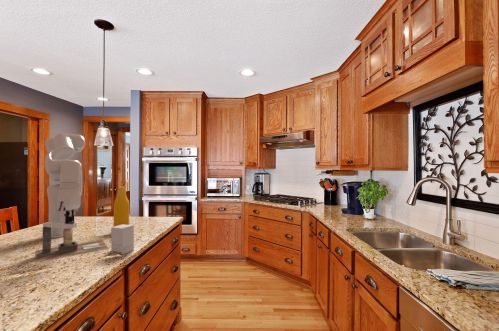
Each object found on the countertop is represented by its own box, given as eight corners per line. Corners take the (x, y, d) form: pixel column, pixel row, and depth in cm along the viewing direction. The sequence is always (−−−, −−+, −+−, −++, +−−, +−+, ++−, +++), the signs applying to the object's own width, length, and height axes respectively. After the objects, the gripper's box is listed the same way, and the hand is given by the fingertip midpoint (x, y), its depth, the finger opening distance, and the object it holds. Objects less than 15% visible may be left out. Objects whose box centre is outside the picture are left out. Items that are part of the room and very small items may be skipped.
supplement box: (134, 250, 124) (134, 225, 124) (122, 255, 117) (122, 228, 117) (123, 248, 126) (123, 223, 127) (110, 253, 119) (110, 227, 120)
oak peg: (63, 250, 120) (63, 227, 120) (72, 248, 122) (72, 226, 122) (63, 252, 117) (63, 229, 117) (72, 250, 119) (72, 227, 120)
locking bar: (40, 227, 113) (40, 221, 113) (46, 226, 116) (46, 220, 116) (72, 228, 112) (72, 222, 112) (77, 226, 115) (77, 220, 115)
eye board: (35, 252, 120) (35, 225, 120) (101, 241, 138) (102, 217, 138) (34, 265, 104) (34, 233, 104) (109, 251, 122) (109, 223, 122)
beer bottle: (129, 229, 167) (129, 186, 167) (129, 232, 158) (129, 187, 159) (113, 230, 163) (114, 186, 163) (112, 233, 154) (113, 187, 155)
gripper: (73, 184, 124) (72, 221, 124) (49, 187, 109) (49, 228, 109) (88, 184, 124) (87, 221, 124) (66, 187, 109) (66, 228, 109)
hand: (69, 224), depth 116 cm, fingers closed
